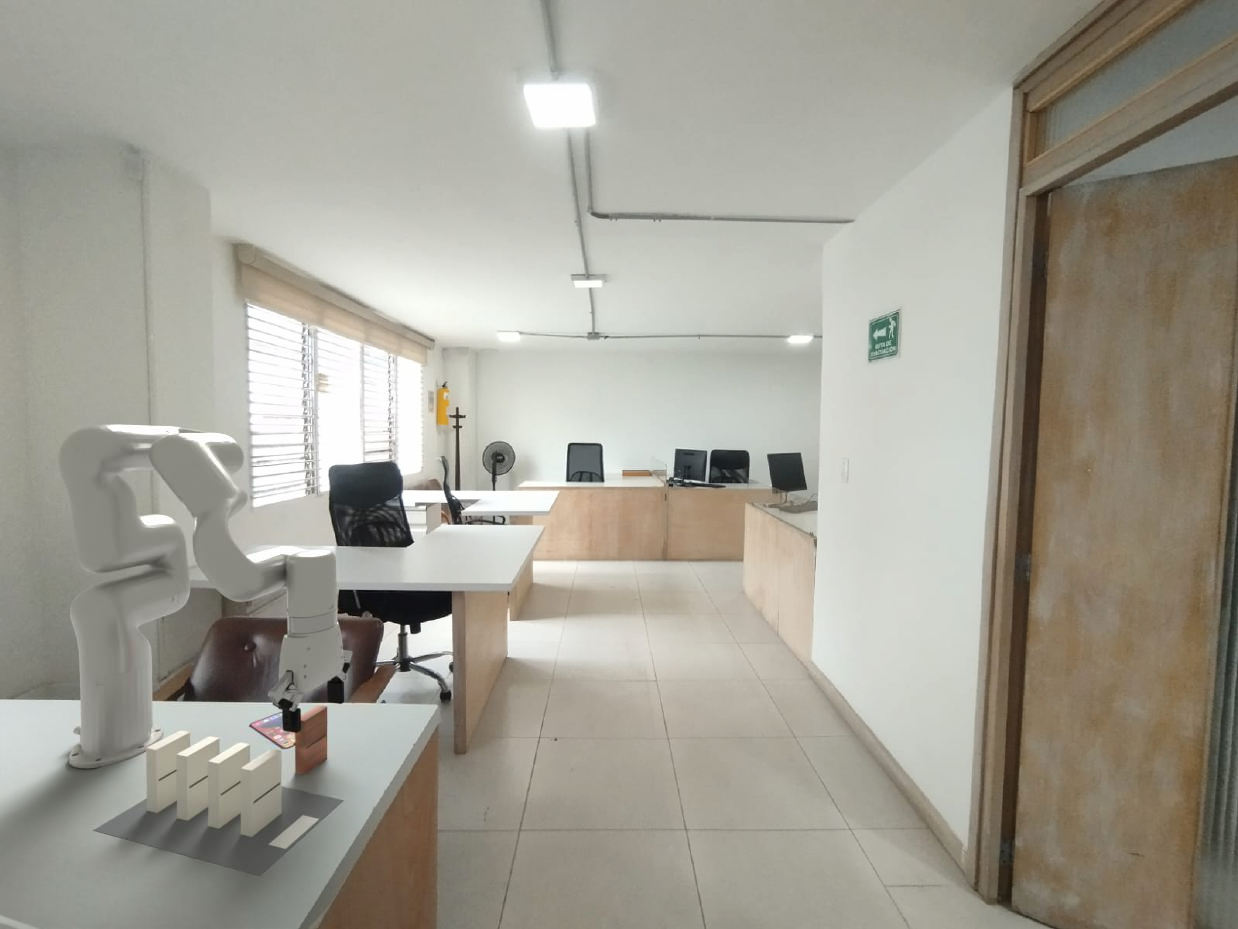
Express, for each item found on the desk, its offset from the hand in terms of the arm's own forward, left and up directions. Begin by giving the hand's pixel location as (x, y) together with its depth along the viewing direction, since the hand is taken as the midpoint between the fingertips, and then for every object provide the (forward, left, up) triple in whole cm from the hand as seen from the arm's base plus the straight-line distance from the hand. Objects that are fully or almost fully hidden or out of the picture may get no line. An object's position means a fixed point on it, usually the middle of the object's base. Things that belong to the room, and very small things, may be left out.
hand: (315, 716), depth 92 cm
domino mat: (-4, -14, -10) cm, 17 cm away
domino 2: (-9, -14, -9) cm, 18 cm away
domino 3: (-3, -14, -9) cm, 16 cm away
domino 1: (-15, -14, -9) cm, 22 cm away
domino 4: (+3, -14, -9) cm, 17 cm away
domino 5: (-1, 0, -10) cm, 10 cm away
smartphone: (-15, +8, -10) cm, 19 cm away
